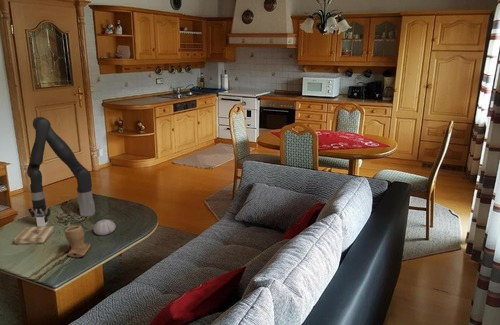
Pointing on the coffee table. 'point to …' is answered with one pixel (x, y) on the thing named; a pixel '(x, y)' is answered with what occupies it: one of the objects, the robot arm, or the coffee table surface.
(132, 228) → the coffee table surface
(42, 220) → the connector plug
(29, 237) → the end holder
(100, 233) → the sea urchin shell
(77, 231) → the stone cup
